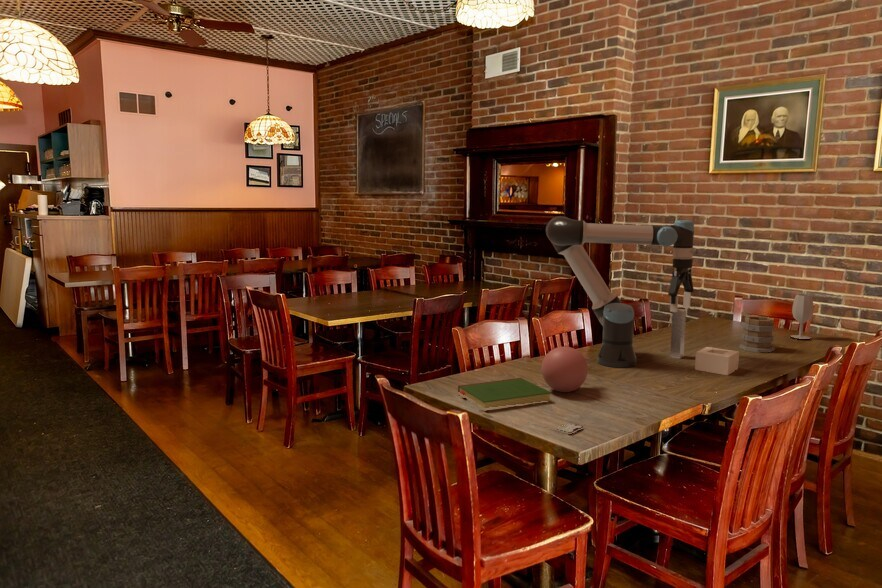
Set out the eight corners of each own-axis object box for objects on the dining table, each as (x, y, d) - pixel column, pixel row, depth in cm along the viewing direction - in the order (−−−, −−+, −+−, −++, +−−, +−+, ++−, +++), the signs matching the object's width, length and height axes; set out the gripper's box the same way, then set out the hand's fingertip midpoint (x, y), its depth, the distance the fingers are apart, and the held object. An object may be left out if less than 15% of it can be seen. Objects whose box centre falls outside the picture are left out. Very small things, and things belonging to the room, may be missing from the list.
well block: (727, 375, 231) (728, 357, 230) (694, 369, 239) (695, 351, 238) (737, 369, 240) (739, 351, 239) (706, 363, 248) (707, 346, 247)
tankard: (778, 353, 266) (781, 318, 264) (748, 352, 266) (751, 318, 264) (756, 342, 286) (758, 310, 284) (728, 342, 286) (730, 310, 284)
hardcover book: (520, 388, 217) (520, 377, 217) (550, 403, 200) (551, 392, 200) (456, 396, 207) (456, 385, 207) (481, 413, 190) (482, 402, 190)
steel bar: (679, 358, 256) (682, 311, 253) (670, 357, 259) (672, 309, 256) (683, 357, 259) (686, 309, 256) (674, 355, 262) (676, 308, 259)
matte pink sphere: (606, 391, 212) (608, 347, 210) (562, 400, 201) (564, 354, 199) (574, 380, 225) (575, 338, 222) (531, 389, 214) (532, 345, 212)
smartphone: (540, 415, 187) (584, 426, 176) (540, 418, 187) (584, 429, 176) (525, 421, 181) (570, 432, 171) (525, 424, 181) (569, 436, 171)
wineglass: (785, 337, 297) (788, 294, 294) (799, 336, 300) (803, 293, 297) (800, 341, 289) (804, 296, 286) (815, 340, 291) (819, 295, 288)
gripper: (679, 260, 241) (677, 314, 244) (703, 256, 259) (700, 306, 262) (660, 259, 246) (658, 312, 249) (685, 255, 264) (682, 304, 268)
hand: (680, 309), depth 256 cm, fingers open, 13 cm apart
